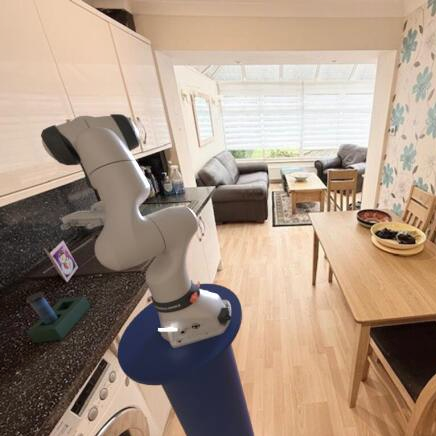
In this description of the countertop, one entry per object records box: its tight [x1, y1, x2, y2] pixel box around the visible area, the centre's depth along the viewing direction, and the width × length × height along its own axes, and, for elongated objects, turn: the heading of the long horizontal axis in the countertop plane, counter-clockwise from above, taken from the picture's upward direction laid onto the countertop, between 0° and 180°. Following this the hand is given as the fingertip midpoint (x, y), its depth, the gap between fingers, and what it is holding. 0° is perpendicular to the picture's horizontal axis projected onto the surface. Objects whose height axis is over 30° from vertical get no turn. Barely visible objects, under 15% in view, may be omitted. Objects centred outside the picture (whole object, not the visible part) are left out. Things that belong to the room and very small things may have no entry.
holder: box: [26, 295, 91, 344], centre depth 81 cm, size 8×14×5 cm, turn 7°
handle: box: [25, 291, 58, 325], centre depth 76 cm, size 4×4×15 cm
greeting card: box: [42, 240, 79, 283], centre depth 103 cm, size 11×7×15 cm, turn 20°
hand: (75, 227), depth 86 cm, fingers open, 8 cm apart
